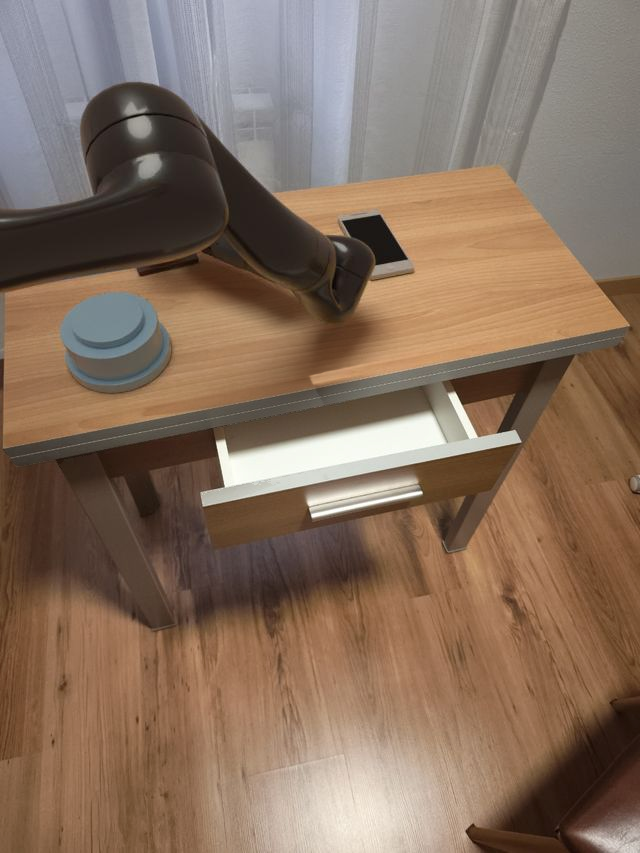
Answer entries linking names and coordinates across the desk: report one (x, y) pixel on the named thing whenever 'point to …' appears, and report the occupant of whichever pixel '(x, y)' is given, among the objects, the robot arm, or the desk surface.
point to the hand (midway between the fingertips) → (138, 193)
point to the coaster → (168, 265)
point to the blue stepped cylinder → (114, 342)
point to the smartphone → (377, 242)
